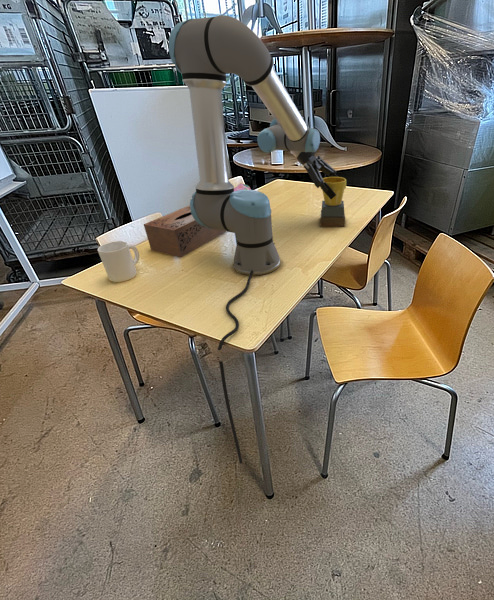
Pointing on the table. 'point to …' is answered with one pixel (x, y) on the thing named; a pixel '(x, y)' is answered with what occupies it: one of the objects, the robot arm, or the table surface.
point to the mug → (119, 260)
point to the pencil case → (242, 187)
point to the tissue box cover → (178, 233)
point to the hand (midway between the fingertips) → (338, 192)
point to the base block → (332, 221)
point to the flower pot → (335, 190)
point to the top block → (332, 210)
